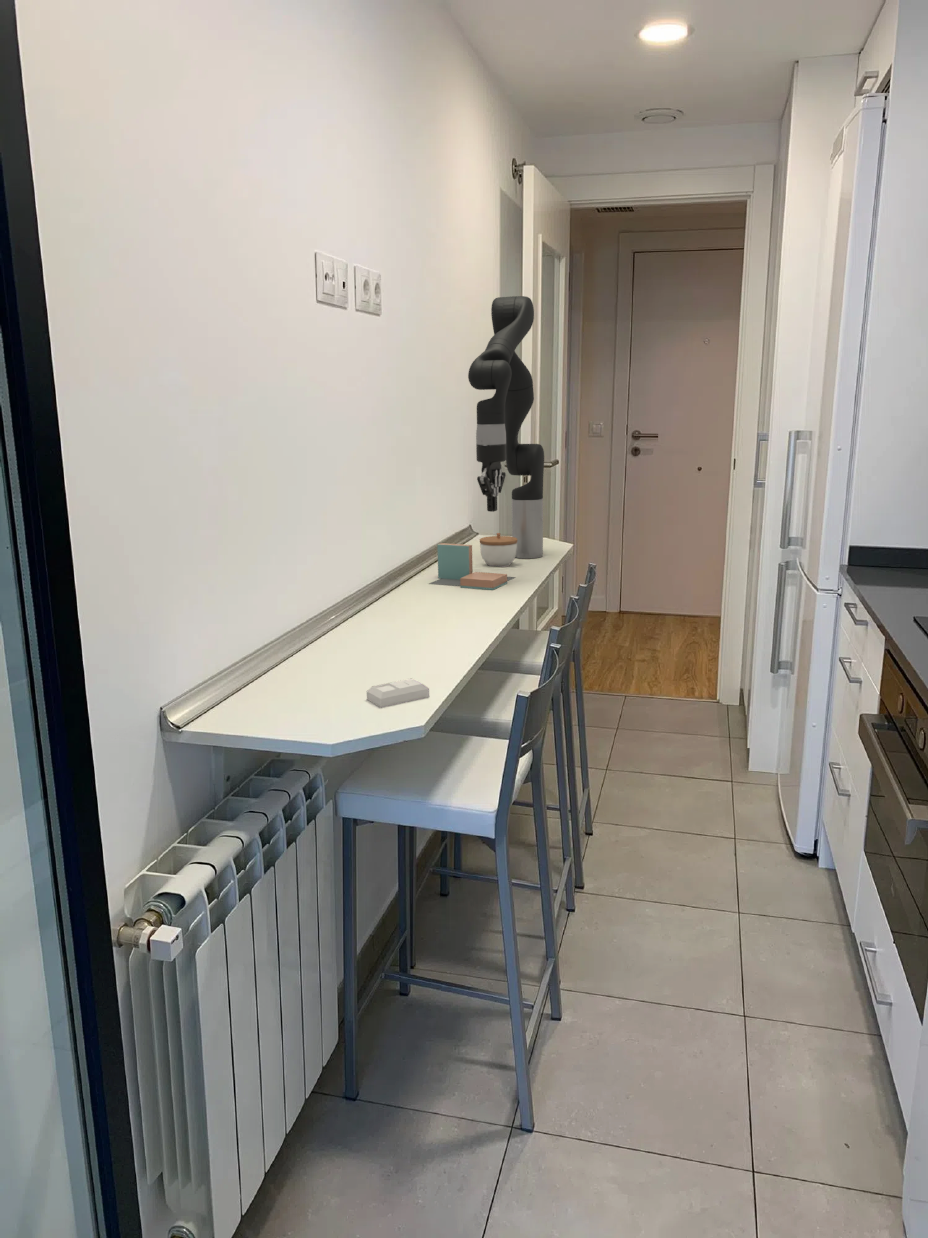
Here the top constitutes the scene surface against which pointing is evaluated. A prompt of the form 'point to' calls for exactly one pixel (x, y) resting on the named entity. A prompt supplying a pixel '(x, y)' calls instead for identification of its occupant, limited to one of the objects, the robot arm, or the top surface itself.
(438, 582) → the mat
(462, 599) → the top surface
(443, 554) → the tile
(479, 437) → the robot arm
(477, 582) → the tile
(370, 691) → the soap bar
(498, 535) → the lidded jar
